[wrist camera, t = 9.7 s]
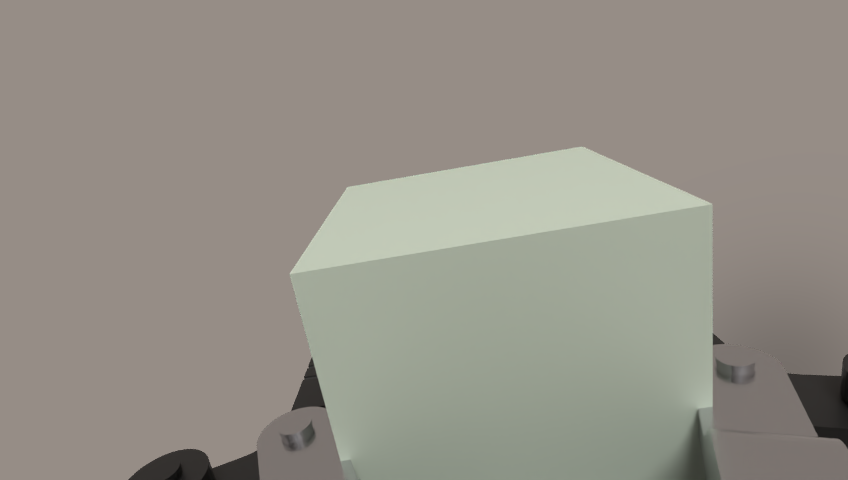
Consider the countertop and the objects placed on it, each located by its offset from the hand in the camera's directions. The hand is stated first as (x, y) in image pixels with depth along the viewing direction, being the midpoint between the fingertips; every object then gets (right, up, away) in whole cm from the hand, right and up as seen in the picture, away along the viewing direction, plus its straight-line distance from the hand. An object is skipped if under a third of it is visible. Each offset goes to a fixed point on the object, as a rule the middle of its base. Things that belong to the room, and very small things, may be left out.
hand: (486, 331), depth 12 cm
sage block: (+1, -6, -1) cm, 7 cm away
